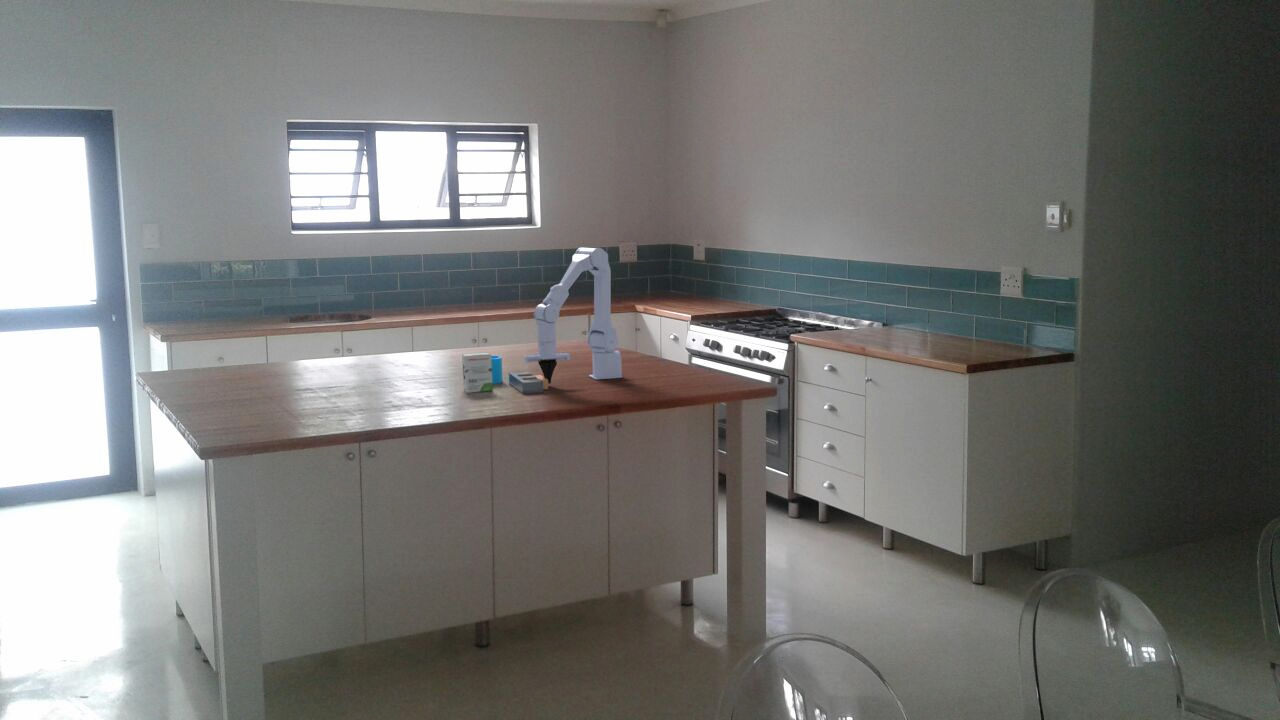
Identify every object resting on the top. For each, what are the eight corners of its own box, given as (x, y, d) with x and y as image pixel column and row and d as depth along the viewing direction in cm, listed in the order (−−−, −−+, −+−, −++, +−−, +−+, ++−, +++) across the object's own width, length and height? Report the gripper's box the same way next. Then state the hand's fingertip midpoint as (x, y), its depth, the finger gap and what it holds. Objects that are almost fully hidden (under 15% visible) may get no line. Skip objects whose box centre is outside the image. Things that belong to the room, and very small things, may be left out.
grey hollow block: (528, 382, 373) (528, 371, 373) (543, 392, 354) (542, 381, 354) (509, 383, 371) (508, 373, 371) (522, 393, 352) (522, 382, 352)
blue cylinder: (504, 383, 372) (503, 358, 371) (479, 384, 370) (478, 360, 369) (499, 377, 384) (498, 353, 383) (475, 378, 382) (474, 354, 381)
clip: (540, 384, 369) (540, 374, 369) (548, 388, 360) (548, 379, 360) (518, 385, 367) (517, 376, 367) (525, 390, 358) (524, 381, 357)
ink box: (489, 388, 363) (488, 352, 361) (493, 390, 358) (492, 354, 356) (463, 390, 360) (461, 353, 358) (466, 393, 355) (464, 355, 353)
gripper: (565, 338, 369) (566, 379, 371) (521, 341, 364) (523, 382, 366) (571, 341, 362) (572, 383, 364) (526, 343, 358) (528, 386, 360)
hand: (548, 383), depth 365 cm, fingers closed
